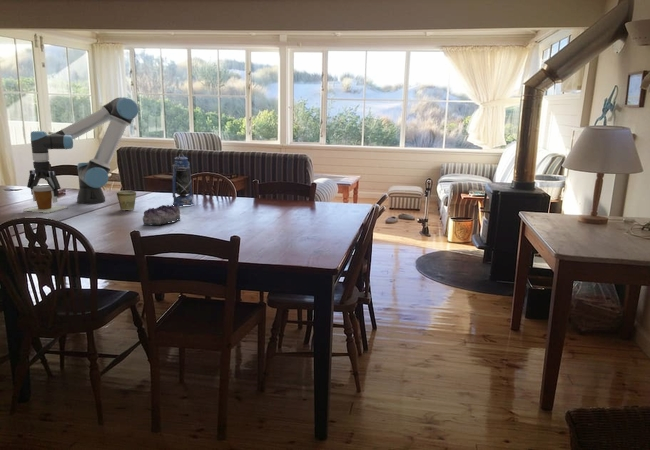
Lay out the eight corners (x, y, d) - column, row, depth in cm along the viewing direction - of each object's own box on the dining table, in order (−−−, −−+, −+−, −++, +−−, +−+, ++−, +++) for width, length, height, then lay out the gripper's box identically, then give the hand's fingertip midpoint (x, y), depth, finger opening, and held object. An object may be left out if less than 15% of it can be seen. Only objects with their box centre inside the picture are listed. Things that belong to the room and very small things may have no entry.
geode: (168, 217, 258) (169, 199, 255) (185, 223, 253) (187, 204, 251) (137, 223, 240) (139, 203, 237) (155, 229, 235) (157, 209, 233)
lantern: (181, 208, 282) (179, 155, 275) (165, 205, 287) (163, 153, 280) (200, 204, 295) (198, 153, 288) (184, 201, 301) (182, 152, 294)
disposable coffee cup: (48, 210, 263) (46, 187, 260) (30, 209, 263) (28, 187, 260) (58, 206, 272) (56, 185, 269) (41, 206, 272) (39, 184, 270)
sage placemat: (68, 207, 273) (67, 206, 273) (48, 213, 259) (47, 212, 259) (44, 206, 276) (44, 205, 276) (23, 211, 262) (23, 210, 262)
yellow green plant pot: (130, 212, 267) (129, 193, 265) (113, 211, 269) (112, 192, 267) (143, 207, 279) (142, 190, 277) (127, 206, 281) (126, 189, 279)
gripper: (65, 161, 263) (69, 201, 268) (27, 159, 267) (31, 199, 272) (55, 162, 256) (59, 204, 261) (16, 160, 260) (20, 201, 265)
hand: (45, 201), depth 267 cm, fingers open, 11 cm apart
